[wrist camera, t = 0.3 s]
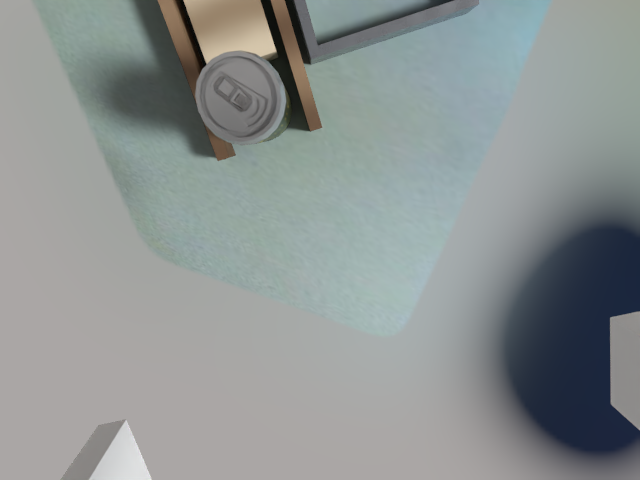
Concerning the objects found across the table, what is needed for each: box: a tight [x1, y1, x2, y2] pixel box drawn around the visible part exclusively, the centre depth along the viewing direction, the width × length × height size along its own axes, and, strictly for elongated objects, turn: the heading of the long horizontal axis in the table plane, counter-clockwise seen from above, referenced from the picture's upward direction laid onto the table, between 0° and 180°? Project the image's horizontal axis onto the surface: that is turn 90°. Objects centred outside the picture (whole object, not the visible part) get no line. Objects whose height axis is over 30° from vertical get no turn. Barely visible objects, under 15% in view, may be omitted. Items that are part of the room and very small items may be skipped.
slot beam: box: [158, 0, 322, 161], centre depth 31 cm, size 16×9×3 cm, turn 17°
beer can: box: [195, 50, 292, 145], centre depth 28 cm, size 5×5×12 cm
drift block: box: [183, 0, 279, 64], centre depth 31 cm, size 8×6×3 cm
